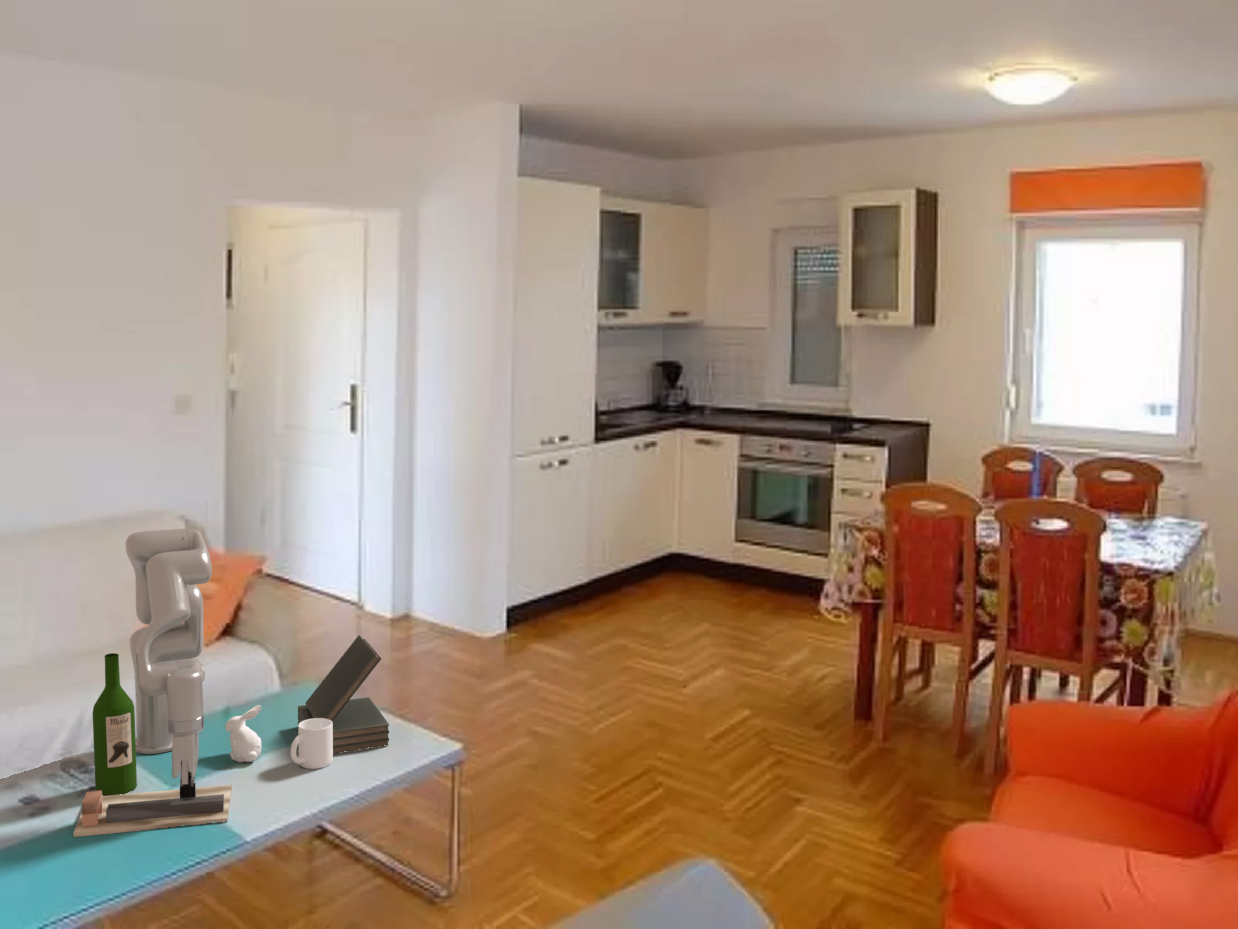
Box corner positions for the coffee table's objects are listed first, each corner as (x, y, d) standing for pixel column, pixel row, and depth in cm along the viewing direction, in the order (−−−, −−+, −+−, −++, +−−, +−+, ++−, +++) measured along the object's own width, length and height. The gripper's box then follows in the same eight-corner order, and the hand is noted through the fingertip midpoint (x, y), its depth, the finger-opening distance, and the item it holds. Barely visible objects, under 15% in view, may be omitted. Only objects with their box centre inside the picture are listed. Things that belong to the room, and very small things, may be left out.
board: (88, 801, 252) (88, 786, 252) (231, 788, 261) (231, 773, 261) (73, 837, 235) (72, 820, 235) (227, 822, 244) (226, 806, 243)
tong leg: (107, 817, 242) (107, 807, 241) (109, 814, 243) (108, 804, 243) (223, 807, 248) (223, 797, 248) (224, 804, 250) (224, 794, 249)
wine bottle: (105, 800, 253) (100, 663, 249) (89, 788, 259) (83, 654, 255) (143, 789, 260) (139, 655, 256) (127, 777, 266) (122, 646, 262)
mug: (302, 777, 268) (302, 736, 267) (279, 769, 273) (279, 729, 272) (339, 761, 278) (339, 722, 277) (317, 754, 283) (317, 715, 281)
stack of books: (298, 727, 301) (296, 639, 298) (369, 718, 310) (369, 631, 307) (313, 758, 281) (312, 663, 278) (389, 747, 289) (389, 655, 286)
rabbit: (222, 753, 282) (221, 708, 280) (258, 745, 288) (257, 700, 286) (239, 768, 273) (238, 722, 271) (276, 760, 279) (275, 714, 277)
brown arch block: (87, 814, 243) (86, 791, 243) (102, 812, 244) (101, 790, 243) (82, 826, 237) (81, 803, 237) (97, 825, 238) (96, 802, 237)
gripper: (171, 713, 254) (173, 789, 257) (164, 737, 240) (166, 817, 242) (206, 711, 256) (208, 786, 259) (200, 734, 242) (202, 813, 245)
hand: (188, 801), depth 251 cm, fingers closed
